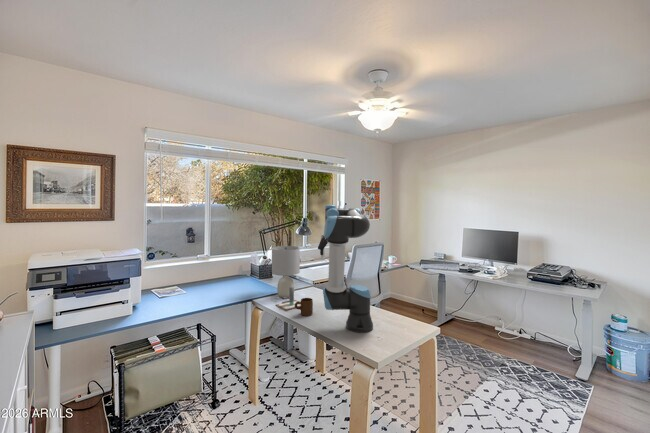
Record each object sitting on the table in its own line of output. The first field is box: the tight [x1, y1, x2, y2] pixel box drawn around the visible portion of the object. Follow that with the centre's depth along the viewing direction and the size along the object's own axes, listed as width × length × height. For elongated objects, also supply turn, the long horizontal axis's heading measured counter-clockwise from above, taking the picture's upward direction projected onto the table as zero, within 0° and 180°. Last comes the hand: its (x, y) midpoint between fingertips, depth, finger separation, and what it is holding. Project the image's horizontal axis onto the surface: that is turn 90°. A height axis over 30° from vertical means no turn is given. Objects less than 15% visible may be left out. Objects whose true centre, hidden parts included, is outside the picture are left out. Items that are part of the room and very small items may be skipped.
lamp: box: [271, 245, 301, 299], centre depth 231 cm, size 20×20×37 cm
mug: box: [295, 297, 314, 317], centre depth 196 cm, size 12×8×9 cm, turn 121°
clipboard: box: [275, 299, 301, 312], centre depth 212 cm, size 13×16×1 cm
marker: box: [288, 286, 295, 306], centre depth 211 cm, size 3×3×12 cm
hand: (330, 258), depth 214 cm, fingers open, 13 cm apart
